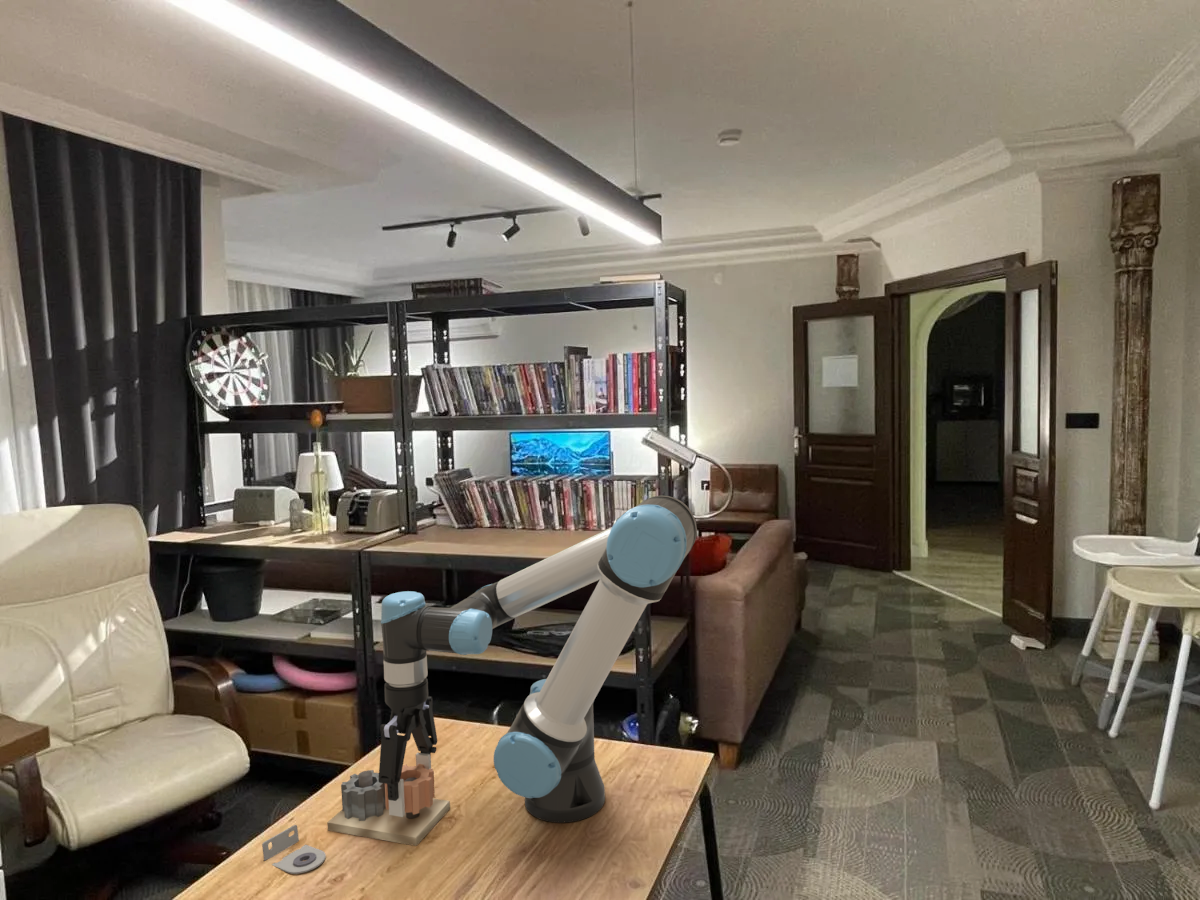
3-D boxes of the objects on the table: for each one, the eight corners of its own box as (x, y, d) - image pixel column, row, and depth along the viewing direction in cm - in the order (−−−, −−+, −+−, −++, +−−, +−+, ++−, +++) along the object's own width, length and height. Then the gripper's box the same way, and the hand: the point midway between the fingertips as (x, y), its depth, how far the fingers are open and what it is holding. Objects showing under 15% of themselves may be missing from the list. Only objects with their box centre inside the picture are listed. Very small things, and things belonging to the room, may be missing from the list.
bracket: (300, 882, 124) (298, 861, 124) (263, 862, 129) (261, 843, 129) (334, 860, 129) (333, 840, 129) (297, 842, 135) (296, 823, 135)
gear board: (450, 808, 144) (448, 767, 143) (416, 845, 132) (414, 801, 132) (367, 795, 149) (364, 756, 148) (327, 830, 138) (325, 787, 137)
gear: (436, 788, 143) (435, 762, 143) (430, 813, 135) (430, 786, 135) (390, 791, 143) (390, 765, 142) (382, 816, 134) (381, 789, 134)
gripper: (418, 657, 148) (423, 769, 150) (351, 701, 128) (358, 830, 130) (453, 660, 146) (457, 774, 148) (391, 706, 126) (397, 837, 128)
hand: (411, 800), depth 139 cm, fingers closed on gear, 9 cm apart
